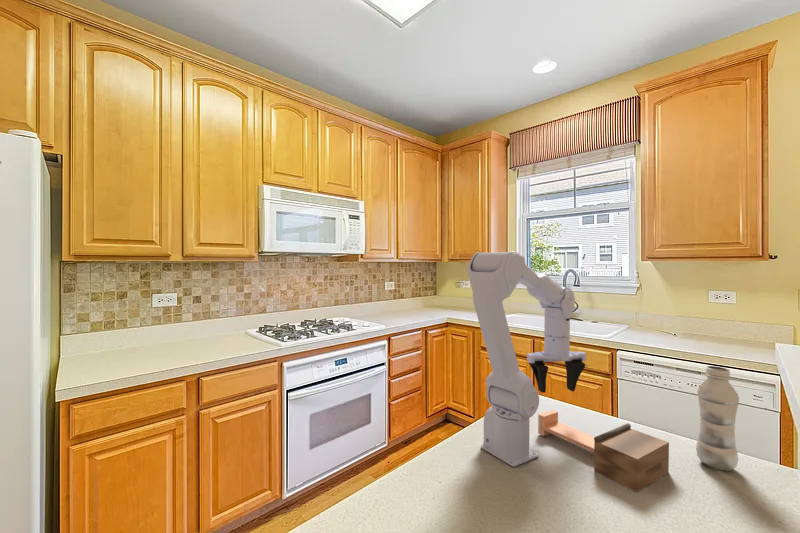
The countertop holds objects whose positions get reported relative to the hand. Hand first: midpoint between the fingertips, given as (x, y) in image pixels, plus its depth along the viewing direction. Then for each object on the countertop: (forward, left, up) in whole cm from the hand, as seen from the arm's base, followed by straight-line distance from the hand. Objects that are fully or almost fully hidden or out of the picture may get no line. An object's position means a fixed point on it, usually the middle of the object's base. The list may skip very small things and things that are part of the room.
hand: (556, 390), depth 91 cm
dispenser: (+19, -3, -10) cm, 22 cm away
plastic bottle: (+27, +14, -10) cm, 32 cm away
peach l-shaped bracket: (+6, -3, -10) cm, 12 cm away
